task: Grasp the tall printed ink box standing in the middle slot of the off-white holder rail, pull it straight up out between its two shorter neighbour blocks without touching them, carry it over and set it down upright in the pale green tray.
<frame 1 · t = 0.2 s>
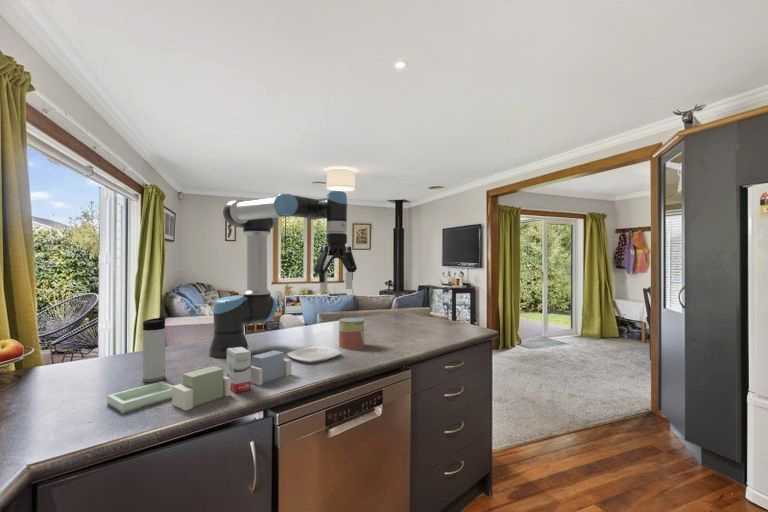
hand: (336, 290, 136), 28 cm above the worktop, fingers open, 13 cm apart
holder: (238, 387, 113), on the worktop
plate: (314, 358, 147), on the worktop
neighbour b: (268, 378, 122), on the worktop
canned food: (351, 346, 165), on the worktop
ink box: (238, 388, 113), on the worktop
travel mug: (154, 379, 121), on the worktop
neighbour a: (203, 399, 104), on the worktop
tray: (144, 400, 103), on the worktop
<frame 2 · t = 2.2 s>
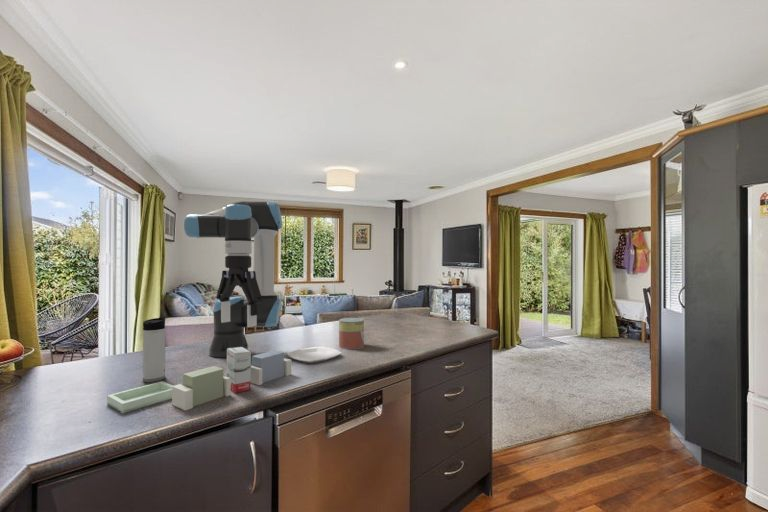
hand: (238, 324, 112), 20 cm above the worktop, fingers open, 13 cm apart
nothing on the worktop moved.
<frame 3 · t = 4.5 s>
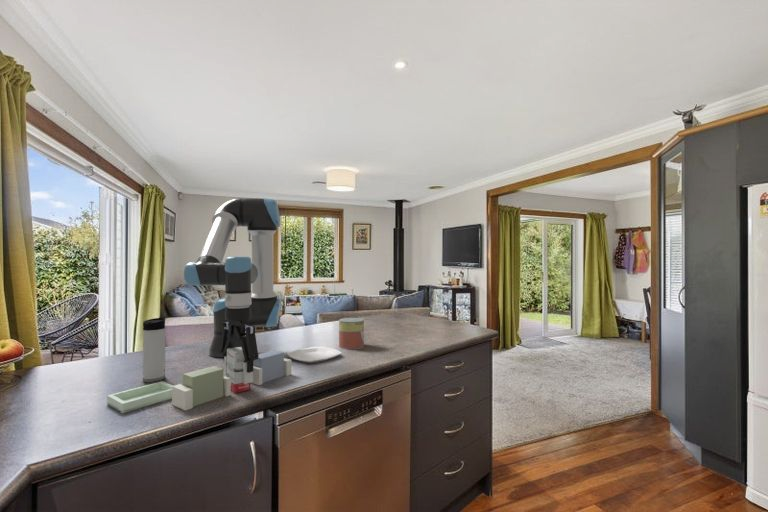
hand: (238, 379, 113), 3 cm above the worktop, fingers closed on ink box, 9 cm apart
ink box: (238, 388, 113), on the worktop, touching gripper
everything else where it was.
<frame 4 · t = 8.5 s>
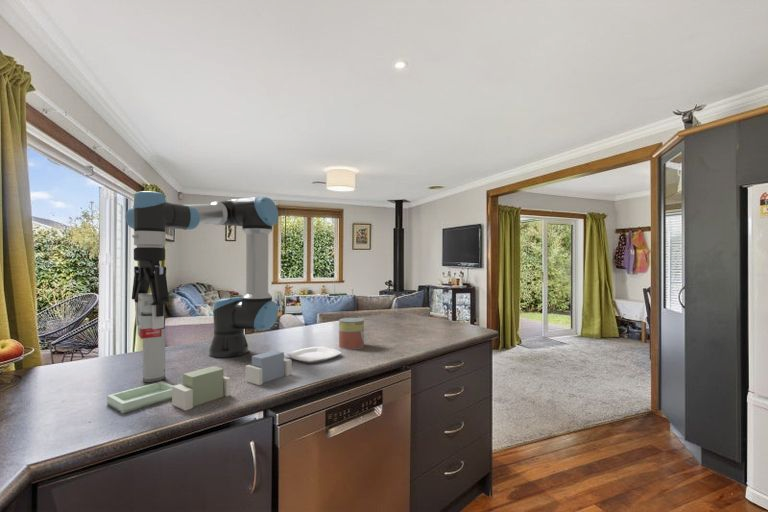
hand: (149, 326, 103), 21 cm above the worktop, fingers closed on ink box, 9 cm apart
ink box: (149, 336, 103), point 18 cm above the worktop, touching gripper
everything else where it was.
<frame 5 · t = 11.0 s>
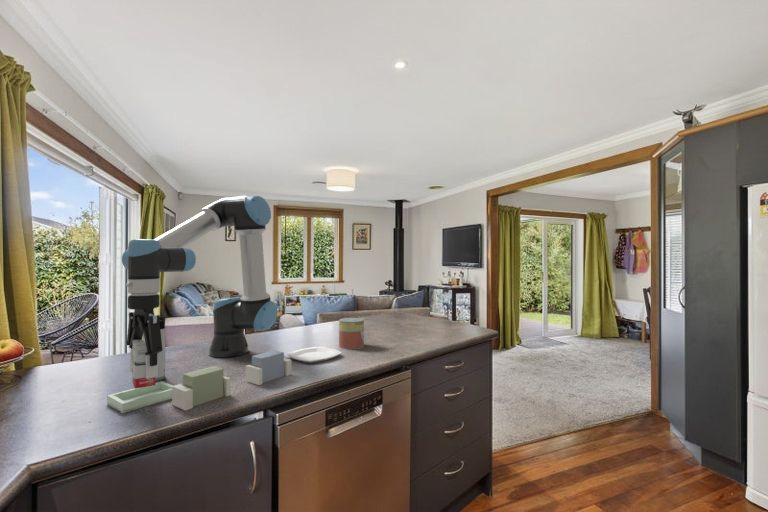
hand: (143, 374, 103), 7 cm above the worktop, fingers closed on ink box, 9 cm apart
ink box: (143, 384, 103), point 5 cm above the worktop, touching gripper
everything else where it was.
when the fingers open (4 cm above the worktop, at t = 12.7 s): ink box stays where it is, resting on tray.
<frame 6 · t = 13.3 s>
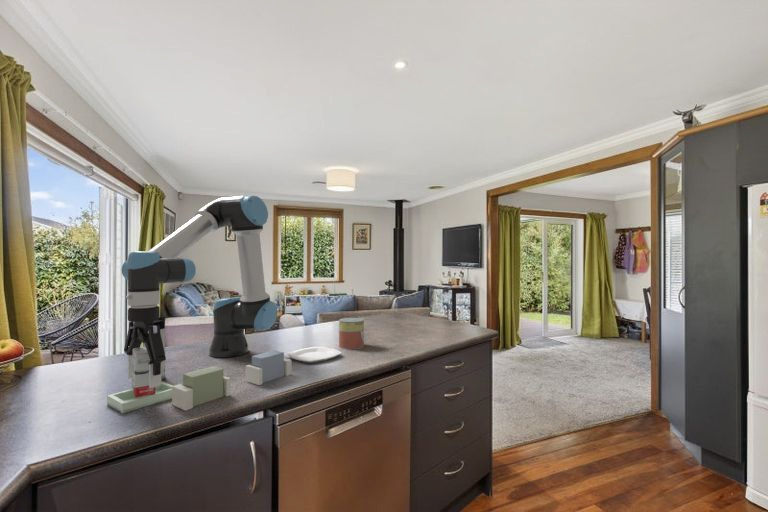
hand: (143, 381, 103), 5 cm above the worktop, fingers open, 13 cm apart
ink box: (143, 392, 103), point 2 cm above the worktop, touching tray
everything else where it was.
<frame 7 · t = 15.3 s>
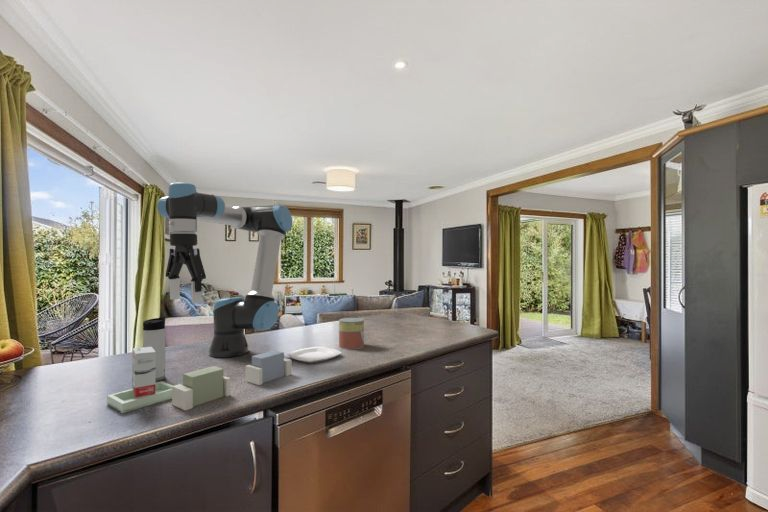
hand: (185, 300, 115), 27 cm above the worktop, fingers open, 13 cm apart
nothing on the worktop moved.
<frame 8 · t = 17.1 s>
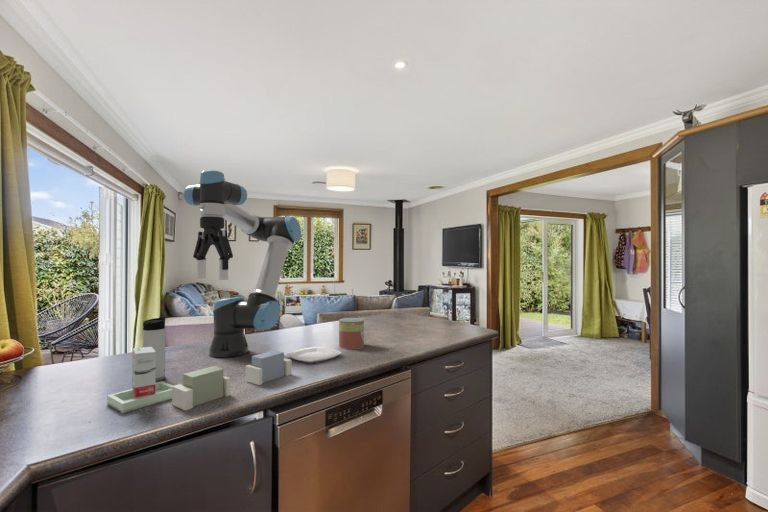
hand: (212, 279, 125), 33 cm above the worktop, fingers open, 13 cm apart
nothing on the worktop moved.
at the end: ink box inside the target area on the tray (0.1 cm from its centre), point 2.3 cm above the tray's base; ink box tilted 0°; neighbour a moved 0.1 cm from its start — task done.
